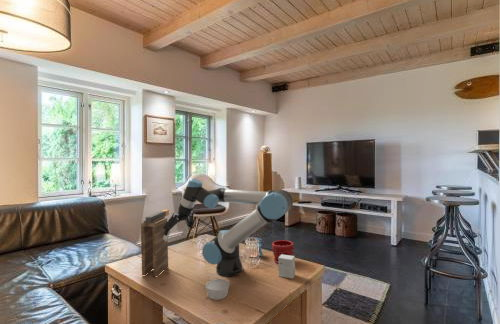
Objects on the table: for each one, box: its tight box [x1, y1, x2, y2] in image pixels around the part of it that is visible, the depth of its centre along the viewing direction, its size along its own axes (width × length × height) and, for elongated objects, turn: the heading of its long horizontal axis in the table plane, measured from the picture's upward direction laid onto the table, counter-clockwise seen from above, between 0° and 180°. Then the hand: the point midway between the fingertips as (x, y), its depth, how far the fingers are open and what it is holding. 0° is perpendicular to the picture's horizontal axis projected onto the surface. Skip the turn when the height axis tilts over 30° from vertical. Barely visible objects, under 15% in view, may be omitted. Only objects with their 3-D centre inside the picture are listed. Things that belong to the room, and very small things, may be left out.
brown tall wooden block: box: [140, 216, 169, 277], centre depth 152 cm, size 9×13×31 cm
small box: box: [277, 254, 296, 279], centre depth 145 cm, size 8×6×10 cm
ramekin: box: [205, 278, 230, 301], centre depth 126 cm, size 11×11×5 cm
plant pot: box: [271, 239, 294, 264], centre depth 164 cm, size 13×13×12 cm
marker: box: [145, 209, 170, 223], centre depth 156 cm, size 3×21×3 cm, turn 170°
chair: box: [252, 236, 263, 258], centre depth 175 cm, size 8×8×12 cm
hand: (174, 237), depth 151 cm, fingers open, 13 cm apart
